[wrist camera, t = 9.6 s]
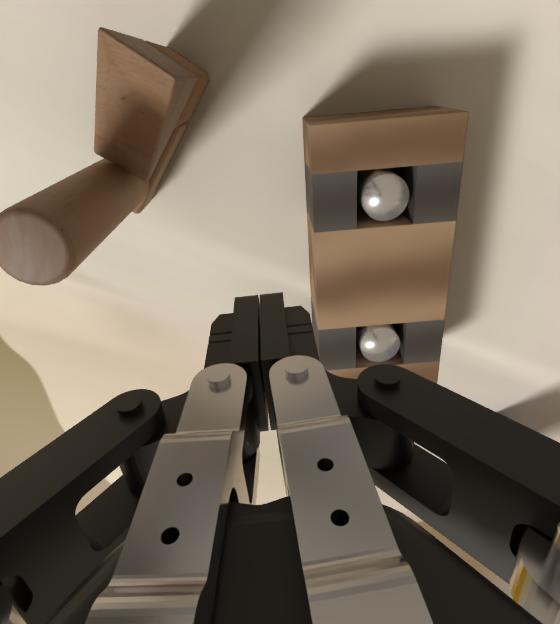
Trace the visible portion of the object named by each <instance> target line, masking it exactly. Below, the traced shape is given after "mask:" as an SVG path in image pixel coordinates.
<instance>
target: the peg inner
mask: <svg viewBox="0 0 560 624" xmlns="http://www.w3.org/2000/svg"><path fill="white" fill-rule="evenodd" d="M357 201H358V202H359V204H360V205H361V206H362V208H363V209H364V210H365V212H366V213H367V214H368V215H369V216H370V217H371V218H373V219H375V220H378V221H388V220H392V219H394V218H396V217H397V216H399V215H400V214H401V213H402V212H403V211H404V209H405V208H406V206H407V204H408V201H409V189H408V186H407V184H406V182H405V181H404V180H403V179H402V178H400V177H399V176H398V175H396V174H395V173H394V172H392V171H391V170H390V169H388V168H383V169H371V170H360V171H357Z"/></svg>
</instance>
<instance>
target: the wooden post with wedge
mask: <svg viewBox="0 0 560 624" xmlns="http://www.w3.org/2000/svg"><path fill="white" fill-rule="evenodd" d="M208 82H209V76H208V74H207V73H206V72H204V71H203V70H201V69H200V68H198V67H197V66H196V65H194V64H193V63H191V62H190V61H188V60H187V59H185V58H184V57H182V56H181V55H179V54H178V53H176V52H175V51H173V50H172V49H170V48H168V47H165V46H161V45H158V44H155V43H151V42H148V41H144V40H142V39H138V38H135V37H132V36H129V35H125V34H122V33H119V32H115V31H112V30H109V29H106V28H101V27H100V28H99V30H98V50H97V81H96V111H95V141H94V151H95V153H96V154H98V155H100V156H101V157H103V158H104V159H102V160H100V161H98V162H96V163H94V164H93V165H91V166H89V167H87V168H85V169H83V170H81V171H79V172H77V173H75V174H73V175H71V176H69V177H67V178H65V179H63V180H61V181H59V182H57V183H55V184H54V185H52V186H50V187H48V188H46V189H44V190H42V191H40V192H38V193H36V194H34V195H32V196H30V197H28V198H26V199H24V200H22V201H20V202H18V203H17V204H15V205H13V206H11V207H9V208H7V209H5V210H4V211H2V212H1V213H0V267H1V268H2V269H3V270H4V271H5V272H6V273H7V274H9V275H11V276H12V277H14V278H15V279H17V280H19V281H22V282H25V283H28V284H31V285H50V284H54V283H59V282H60V281H62V280H63V279H65V278H66V277H68V276H69V275H70V274H71V273H72V272H73V271H74V270H75V269H76V268H77V267H78V266H79V265H80V264H81V263H82V262H83V261H84V260H85V259H86V258H87V256H88V255H89V254H90V253H91V252H92V251H93V250H94V249H95V248H96V247H97V246H98V245H99V244H100V243H101V242H102V241H103V240H104V239H105V238H106V237H107V236H108V235H109V234H110V233H111V232H112V231H113V230H114V229H115V228H116V227H117V226H118V225H119V224H120V223H121V222H122V221H123V220H124V219H125V218H126V217H127V216H128V215H129V214H130V213H131V212H134V213H138V214H139V213H140V212H141V211H142V210H143V209H144V208H145V207H146V206H147V204H148V203H149V202H150V201H151V199H152V197H153V195H154V193H155V191H156V188H157V186H158V184H159V182H160V180H161V178H162V176H163V174H164V172H165V170H166V168H167V166H168V164H169V162H170V160H171V158H172V156H173V154H174V152H175V150H176V148H177V145H178V143H179V141H180V139H181V137H182V135H183V133H184V131H185V129H186V127H187V123H186V122H187V121H188V120H189V119H191V117H192V115H193V113H194V111H195V109H196V107H197V105H198V103H199V101H200V98H201V96H202V94H203V92H204V90H205V88H206V86H207V84H208Z"/></svg>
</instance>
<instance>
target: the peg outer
mask: <svg viewBox="0 0 560 624" xmlns="http://www.w3.org/2000/svg"><path fill="white" fill-rule="evenodd" d="M356 338H357V341H358V343H359V346H360V349H361V352H362V354H363V356H364V357H365V358H366V359H368V360H370V361H373V362H383V361H386V360H389V359H390V358H392V357H393V356H394V355H395V354H396V353H397V352H398V350H399V347H400V340H399V337H398V335H397V333H396V331H395V329H394V327H393V325H392V324H385V325H373V326H360V327H356Z"/></svg>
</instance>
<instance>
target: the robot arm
mask: <svg viewBox="0 0 560 624" xmlns="http://www.w3.org/2000/svg"><path fill="white" fill-rule="evenodd" d="M268 413H269V420H270V427H271V430H277V437H278V445H279V452H280V459H281V465H282V471H283V477H284V483H285V490H286V496H287V497H284V498H281V499H278V500H276V501H273V502H270V503H267V504H263V505H256V497H257V485H258V473H259V461H260V452H259V444H260V431H269V429H268ZM414 442H415V443H417V444H419V445H420V446H422V447H424V448H425V449H427V450H429V451H430V452H432V453H434V454H435V455H437V456H438V457H440V458H441V459H443V460H444V461H445V462H446V463H447V464H446V463H445V462H443V461H441V460H440V459H438V458H437V457H435V456H433V455H432V454H430V453H428V452H427V451H425V450H423V449H422V448H420V447H419V446H417V445H415V444H414ZM118 466H120V468H121V471H122V473H123V475H122V476H121V477H120V478H119V479H117V480H116V481H115V482H114V483H113V484H112V485H110V486H109V487H108V488H107V489H106V490H105V491H104V492H103V493H101V494H100V495H99V496H98V497H97V498H95V499H94V500H93V501H92V502H91V503H90V504H88V505H87V506H86V507H85V508H84V509H83V510H82V511H80V512H79V513H78V514H77V515H76V516H75V510H76V507H77V504H78V503H79V501H80V500H81V498H82V497H83V496H84V495H85V494H86V493H87V492H88V491H89V490H91V489H92V488H93V487H94V486H96V485H97V484H98V483H99V482H100V481H101V480H102V479H104V478H105V477H106V476H107V475H109V474H110V473H111V472H112V471H113V470H115V469H116V468H117V467H118ZM375 485H376V486H377V487H378V488H380V489H381V490H382V491H384V492H385V493H387V494H388V495H389V496H391V497H392V498H393V499H395V500H396V501H397V502H399V503H400V504H401V505H403V506H404V507H405V508H407V509H408V510H410V511H411V512H412V513H414V514H415V515H416V516H418V517H419V518H420V519H422V520H423V521H424V522H426V523H427V524H429V525H430V526H431V527H433V528H434V529H435V530H437V531H438V532H439V533H441V534H442V535H443V536H445V537H446V538H447V539H449V540H450V541H451V542H453V543H454V544H456V545H457V546H458V547H460V548H461V549H462V550H464V551H465V552H466V553H468V554H469V555H470V556H472V557H473V558H475V559H476V560H477V561H479V562H480V563H481V564H483V565H484V566H485V567H487V568H488V569H489V570H491V571H492V572H493V573H495V574H496V575H498V576H499V577H500V578H502V579H503V580H504V581H506V582H507V583H508V584H510V590H511V594H512V596H513V599H511V598H510V597H509V596H508V595H506V594H505V593H504V592H503V591H501V590H500V589H499V588H498V587H496V586H495V585H494V584H492V583H491V582H490V581H489V580H488V579H486V578H485V577H484V576H482V575H481V574H480V573H479V572H478V571H476V570H475V569H474V568H473V567H471V566H470V565H469V564H468V563H466V562H465V561H464V560H463V559H461V558H460V557H459V556H458V555H456V554H455V553H454V552H453V551H451V550H450V549H449V548H448V547H446V546H445V545H444V544H443V543H441V542H440V541H439V540H438V539H436V538H435V537H434V536H433V535H431V534H430V533H429V532H428V531H426V530H425V529H424V528H423V527H421V526H420V525H419V524H418V523H416V522H415V521H414V520H412V519H411V518H409V517H407V516H406V515H404V514H403V513H401V512H399V511H397V510H395V509H393V508H391V507H388V506H385V505H382V504H381V501H380V498H379V496H378V493H377V490H376V488H375ZM0 624H560V443H559V442H557V441H554V440H552V439H550V438H548V437H546V436H544V435H542V434H540V433H538V432H536V431H534V430H532V429H530V428H528V427H525V426H523V425H521V424H519V423H517V422H515V421H513V420H511V419H509V418H507V417H505V416H503V415H501V414H498V413H496V412H494V411H492V410H490V409H488V408H486V407H484V406H482V405H480V404H478V403H476V402H474V401H472V400H469V399H467V398H465V397H463V396H461V395H459V394H457V393H455V392H453V391H451V390H449V389H447V388H445V387H442V386H440V385H438V384H436V383H434V382H432V381H430V380H428V379H426V378H424V377H422V376H420V375H418V374H416V373H413V372H411V371H409V370H407V369H405V368H403V367H400V366H397V365H391V364H379V365H374V366H371V367H368V368H366V369H365V370H363V371H362V372H361V373H360V374H359V376H358V379H352V378H344V377H340V376H336V375H334V374H332V373H330V372H328V371H327V370H325V369H324V366H323V365H322V363H321V362H320V360H319V355H318V350H317V346H316V341H315V337H314V333H313V328H312V323H311V318H310V314H309V313H308V312H307V311H306V310H305V309H304V308H303V307H302V306H294V307H285V308H284V301H283V292H281V293H272V294H262V295H260V304H259V297H258V295H254V296H244V297H235V301H234V313H230V314H221V315H219V316H218V317H217V318H216V320H215V321H214V322H213V323H212V325H211V330H210V336H209V344H208V348H207V354H206V360H205V366H204V369H203V370H201V371H200V372H199V373H198V374H197V375H196V376H195V377H194V378H193V380H192V383H191V386H190V389H189V391H187V392H186V393H184V394H181V395H179V396H176V397H173V398H170V399H167V400H164V401H161V400H160V398H159V396H158V395H157V394H156V393H155V392H153V391H151V390H146V389H138V390H132V391H128V392H125V393H123V394H120V395H118V396H117V397H115V398H113V399H112V400H110V401H109V402H108V403H106V404H105V405H103V406H102V407H100V408H99V409H98V410H96V411H95V412H93V413H92V414H91V415H89V416H88V417H86V418H85V419H83V420H82V421H81V422H79V423H78V424H76V425H75V426H73V427H72V428H71V429H69V430H68V431H66V432H65V433H64V434H62V435H61V436H59V437H58V438H56V439H55V440H54V441H52V442H51V443H49V444H48V445H46V446H45V447H44V448H42V449H41V450H39V451H38V452H37V453H35V454H34V455H32V456H31V457H30V458H28V459H27V460H25V461H24V462H22V463H21V464H19V465H18V466H17V467H15V468H14V469H12V470H11V471H9V472H8V473H7V474H5V475H4V476H2V477H1V478H0Z"/></svg>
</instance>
